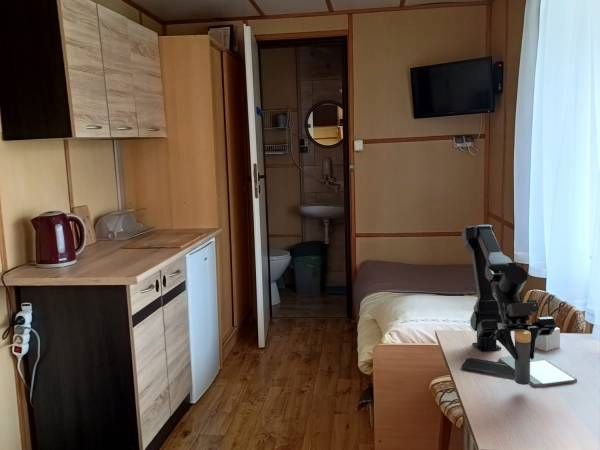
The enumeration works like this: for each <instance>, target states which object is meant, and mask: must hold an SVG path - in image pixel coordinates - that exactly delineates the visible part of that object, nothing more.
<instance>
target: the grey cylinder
mask: <svg viewBox="0 0 600 450" xmlns="http://www.w3.org/2000/svg"><path fill="white" fill-rule="evenodd" d="M513 332H514V340H513V341H514V346H515V349H516V352H517V357H518V359H517V360H515V379H514V383H516V384H518V385H521V386H522V385H524V386H526V385H531V384H530V342H531V332H529V331H526V330H516V331H513Z"/></svg>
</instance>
